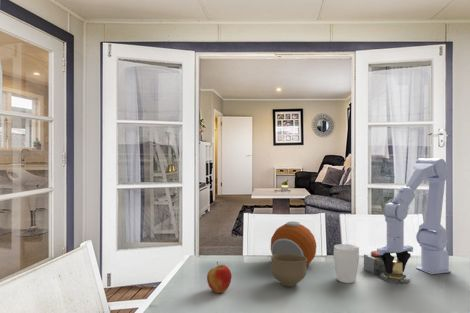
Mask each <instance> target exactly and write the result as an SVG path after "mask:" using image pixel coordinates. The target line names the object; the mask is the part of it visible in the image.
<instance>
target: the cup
mask: <svg viewBox="0 0 470 313" xmlns="http://www.w3.org/2000/svg"><path fill="white" fill-rule="evenodd" d="M333 260H334V261H333V262H334V268H335V275H336V280H337V281H338V282H341V283H344V284H352V283H356V281H357V276H358V268H359V262H360V247H358V246H357V245H354V244H349V243H348V244H347V243H339V244H335V245H334V246H333Z"/></svg>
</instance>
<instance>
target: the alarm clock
mask: <svg viewBox="0 0 470 313" xmlns="http://www.w3.org/2000/svg"><path fill="white" fill-rule="evenodd" d="M270 252H271V253H270V254H271V256H272V255H276V254H294V255H300V256H304V257H306V258H307V262H306V268H307V267H308V266H309V265H310V264H311V263H312V261H313V260H314V258H315V256H316V255H317V254H316V253H317V242H316V238H315V235H314V234H313V233H312V231H311V230H310V229H309V228H308V227H306V226H305V225H303V224H301V223H300V222H299V221H287V222H286V223H285V224H283V225H280V226H279V227H278V228H277V229H275V231H274V232H273V235H272V237H271V239H270Z"/></svg>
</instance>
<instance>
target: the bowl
mask: <svg viewBox="0 0 470 313" xmlns="http://www.w3.org/2000/svg"><path fill="white" fill-rule="evenodd" d="M270 259H271V268H270V269H271V274H272V276H273V277H274V278H275V279H276V280H277V281H278V282H279V283H280V284H281V285H282V286H284V287H295V286H297V284H298V283H300V282H301V281H302V280H304V279H305V277H306V275H307V267H306V262H307V258H306V257H304V256H300V255H294V254H276V255H272V254H271V256H270Z"/></svg>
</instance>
